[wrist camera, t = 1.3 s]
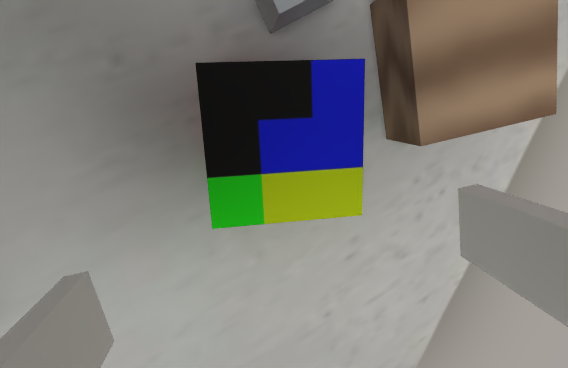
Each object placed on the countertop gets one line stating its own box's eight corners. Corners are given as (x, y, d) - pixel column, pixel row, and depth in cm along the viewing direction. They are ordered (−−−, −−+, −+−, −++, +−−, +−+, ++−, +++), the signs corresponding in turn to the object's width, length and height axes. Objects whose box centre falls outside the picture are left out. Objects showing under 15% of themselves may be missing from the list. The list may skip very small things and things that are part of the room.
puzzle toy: (322, 74, 29) (364, 58, 19) (323, 181, 31) (362, 215, 22) (209, 78, 28) (195, 62, 18) (220, 189, 30) (212, 228, 20)
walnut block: (370, 4, 28) (404, -22, 22) (494, -20, 29) (558, -51, 23) (386, 138, 31) (420, 146, 25) (498, 112, 32) (556, 113, 26)
